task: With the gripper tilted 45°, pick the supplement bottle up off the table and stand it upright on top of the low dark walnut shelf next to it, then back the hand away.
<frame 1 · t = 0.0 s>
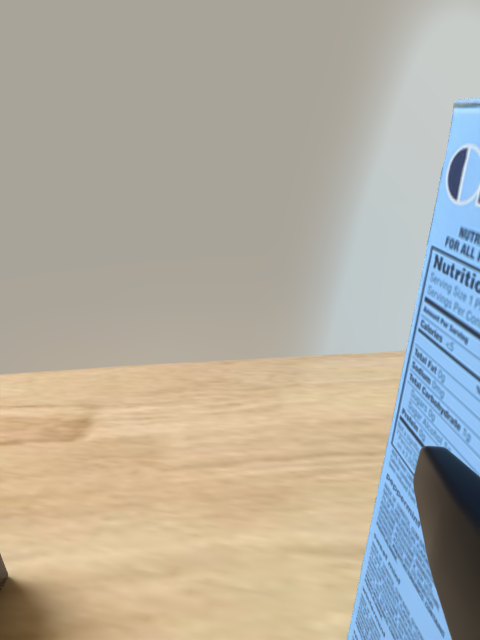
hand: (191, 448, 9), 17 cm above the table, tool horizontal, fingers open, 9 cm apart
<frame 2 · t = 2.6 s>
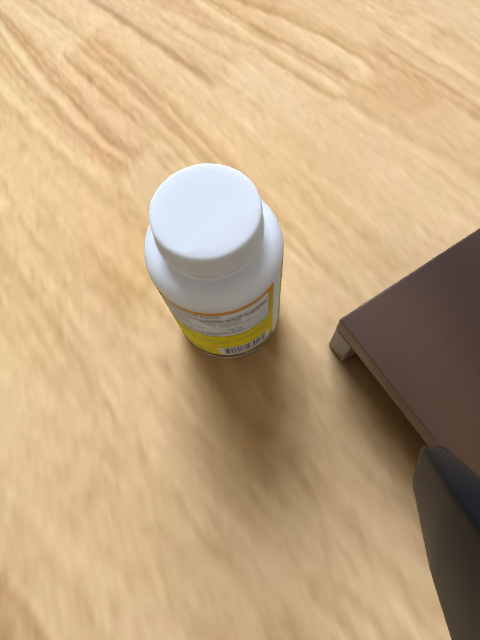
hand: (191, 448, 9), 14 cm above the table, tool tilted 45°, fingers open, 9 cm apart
supplement bottle: (229, 314, 25), on the table
walnut shelf: (470, 377, 23), on the table
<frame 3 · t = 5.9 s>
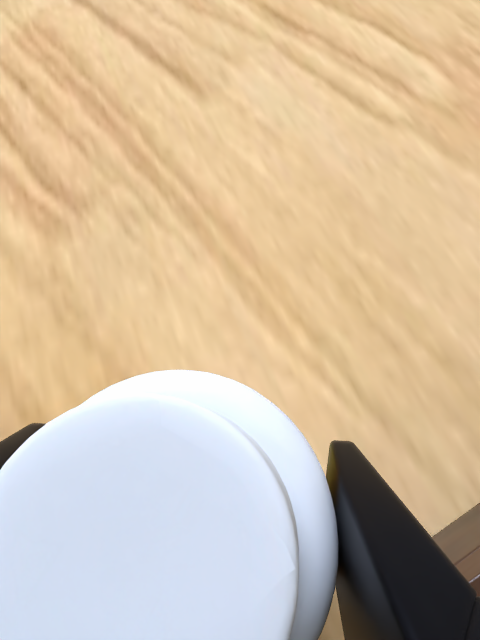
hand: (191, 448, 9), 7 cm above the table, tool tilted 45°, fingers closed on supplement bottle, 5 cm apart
supplement bottle: (219, 498, 15), on the table, touching gripper
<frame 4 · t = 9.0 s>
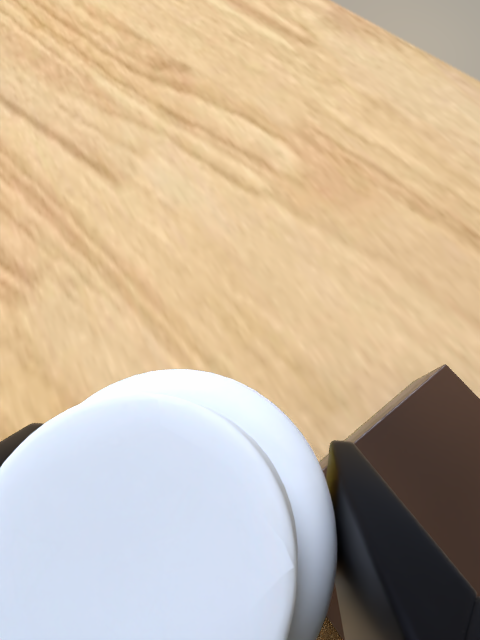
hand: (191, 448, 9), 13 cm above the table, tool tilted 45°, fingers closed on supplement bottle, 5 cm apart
supplement bottle: (218, 497, 15), point 6 cm above the table, touching gripper
walnut shelf: (422, 542, 20), on the table
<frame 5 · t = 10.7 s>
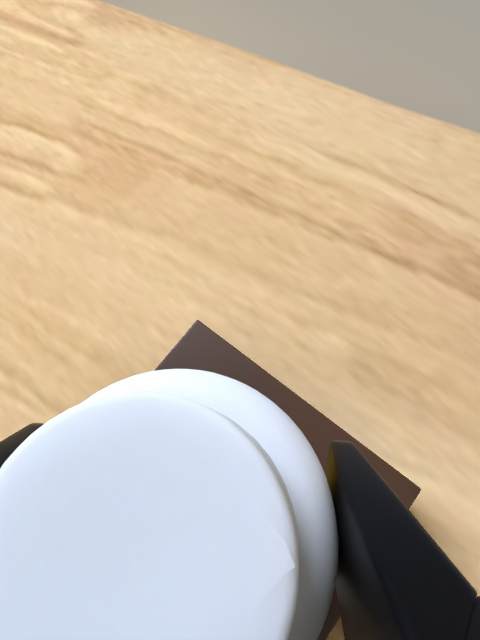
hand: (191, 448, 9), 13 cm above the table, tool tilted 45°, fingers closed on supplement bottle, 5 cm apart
supplement bottle: (219, 497, 15), point 6 cm above the table, touching gripper
walnut shelf: (231, 494, 20), on the table
when the fingers open (11 cm above the table, at t = 12.0 s): supplement bottle stays where it is, resting on walnut shelf.
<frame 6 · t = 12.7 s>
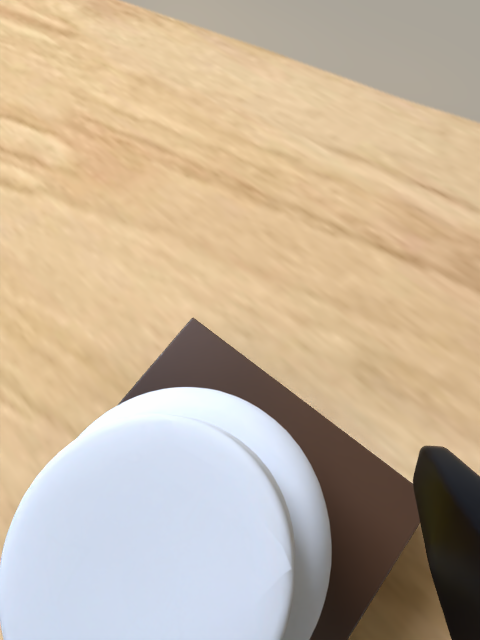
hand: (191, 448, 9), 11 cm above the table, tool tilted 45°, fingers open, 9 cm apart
supplement bottle: (221, 501, 16), point 4 cm above the table, touching walnut shelf
walnut shelf: (228, 505, 19), on the table
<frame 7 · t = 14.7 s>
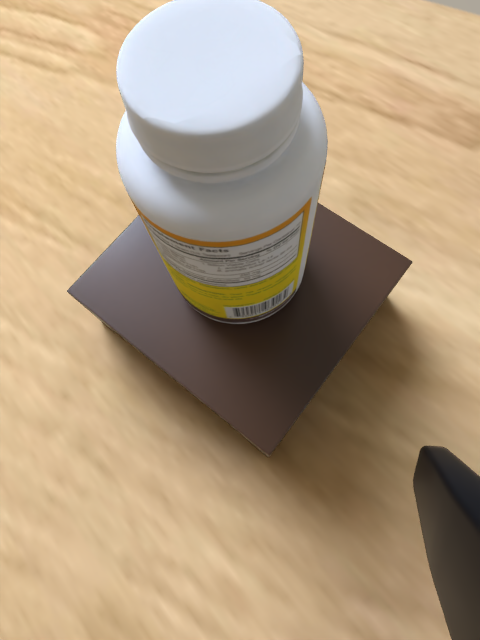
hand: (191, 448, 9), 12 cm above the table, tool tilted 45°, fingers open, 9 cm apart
supplement bottle: (238, 269, 19), point 4 cm above the table, touching walnut shelf
walnut shelf: (242, 307, 22), on the table
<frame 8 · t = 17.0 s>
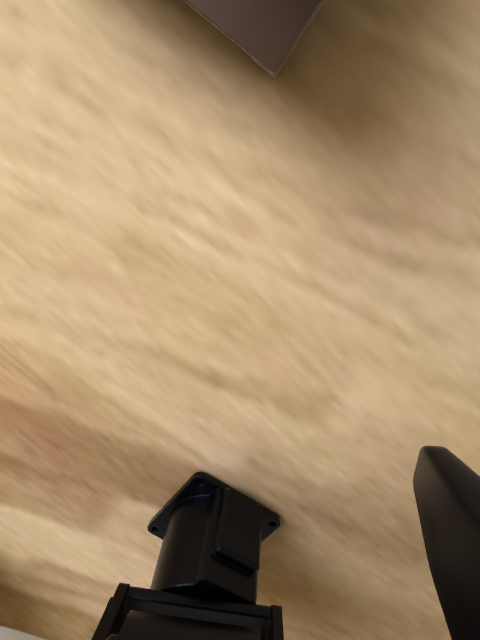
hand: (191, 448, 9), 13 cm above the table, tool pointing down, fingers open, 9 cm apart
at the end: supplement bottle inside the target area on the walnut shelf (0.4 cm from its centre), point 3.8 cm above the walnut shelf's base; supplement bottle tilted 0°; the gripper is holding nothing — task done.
